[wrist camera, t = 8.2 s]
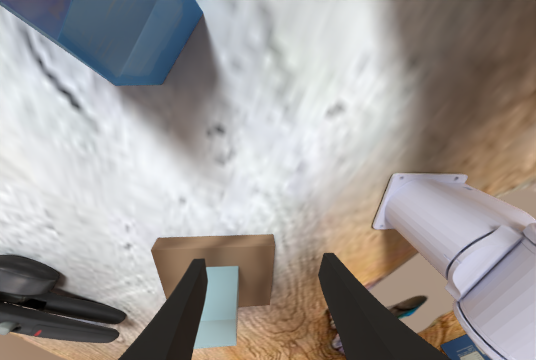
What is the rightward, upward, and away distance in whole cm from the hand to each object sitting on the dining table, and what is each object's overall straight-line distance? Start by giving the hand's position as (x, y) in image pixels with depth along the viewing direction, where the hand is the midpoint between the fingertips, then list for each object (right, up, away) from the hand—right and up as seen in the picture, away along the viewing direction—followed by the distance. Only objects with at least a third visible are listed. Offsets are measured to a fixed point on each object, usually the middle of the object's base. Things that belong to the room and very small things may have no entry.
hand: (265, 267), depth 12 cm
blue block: (-6, -8, +13) cm, 16 cm away
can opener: (-27, -10, +14) cm, 32 cm away
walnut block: (-7, -7, +15) cm, 18 cm away
